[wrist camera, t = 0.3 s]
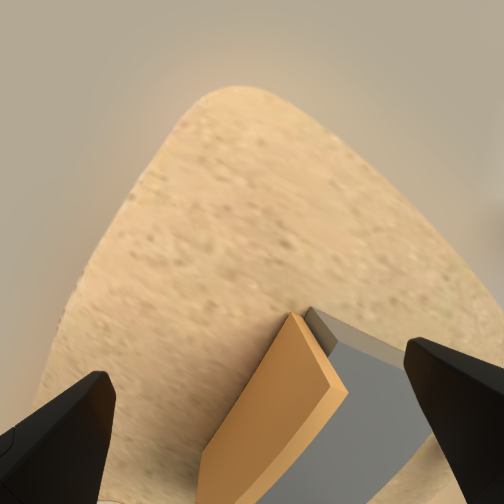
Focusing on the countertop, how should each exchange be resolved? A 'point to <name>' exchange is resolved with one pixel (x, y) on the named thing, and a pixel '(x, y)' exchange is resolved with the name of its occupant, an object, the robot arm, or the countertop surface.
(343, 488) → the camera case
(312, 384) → the side door
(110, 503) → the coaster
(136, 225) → the countertop surface
